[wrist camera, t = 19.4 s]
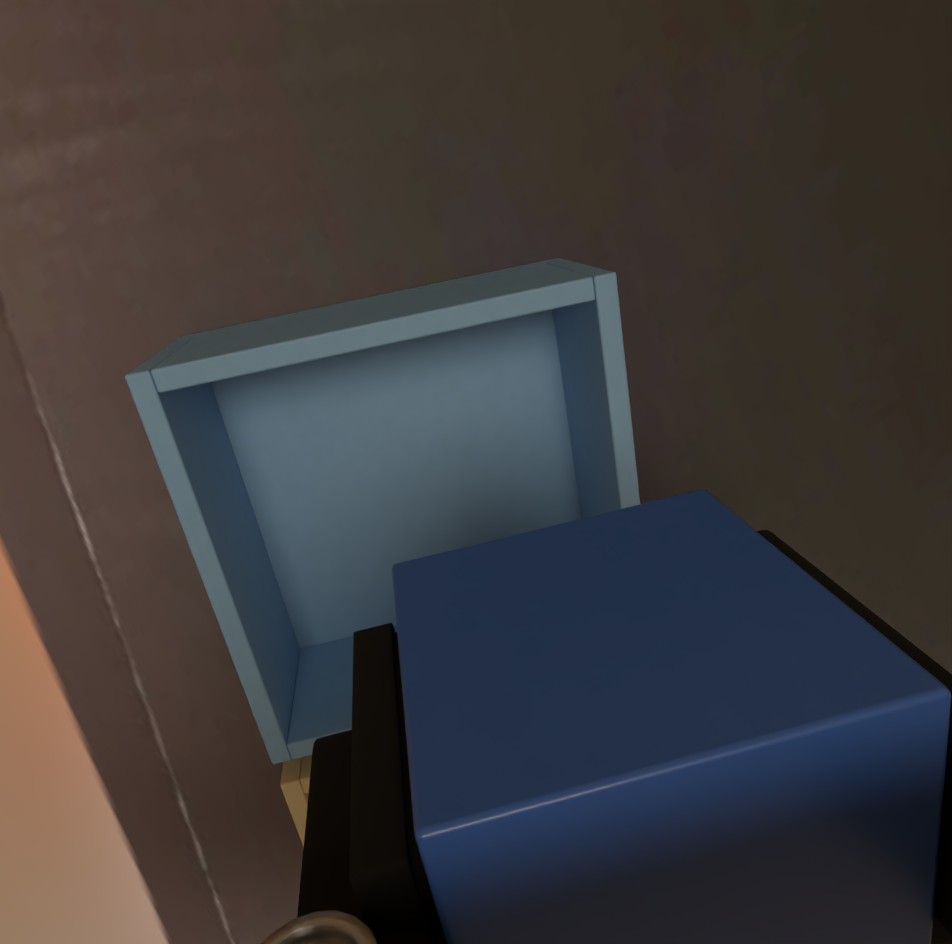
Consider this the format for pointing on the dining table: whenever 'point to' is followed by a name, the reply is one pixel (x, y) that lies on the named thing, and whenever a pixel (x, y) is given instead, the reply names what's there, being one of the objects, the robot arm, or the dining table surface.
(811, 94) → the dining table surface
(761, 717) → the blue block
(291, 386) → the blue bin
